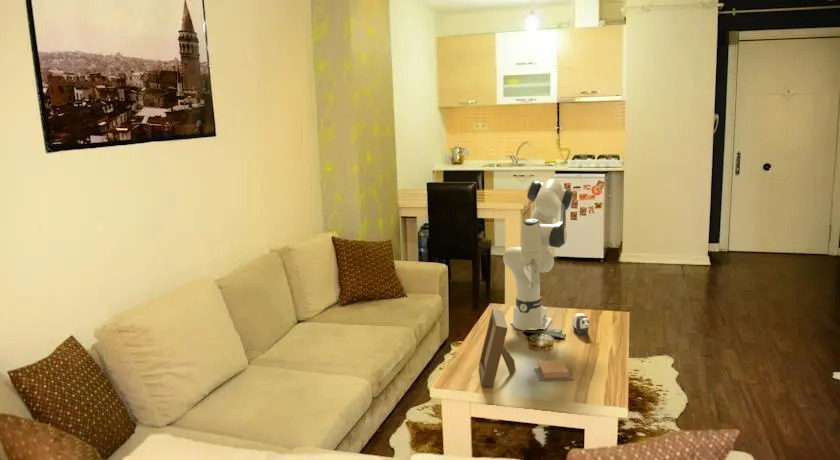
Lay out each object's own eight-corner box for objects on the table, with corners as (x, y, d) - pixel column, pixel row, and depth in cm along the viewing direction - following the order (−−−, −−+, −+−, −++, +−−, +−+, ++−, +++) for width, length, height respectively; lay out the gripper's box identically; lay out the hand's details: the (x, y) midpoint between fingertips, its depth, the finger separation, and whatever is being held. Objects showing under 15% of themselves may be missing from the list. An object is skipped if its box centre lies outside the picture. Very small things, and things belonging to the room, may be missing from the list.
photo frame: (481, 387, 268) (481, 325, 263) (478, 366, 289) (478, 308, 284) (520, 387, 267) (520, 325, 262) (514, 366, 288) (514, 308, 284)
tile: (562, 360, 285) (568, 371, 273) (562, 366, 285) (568, 377, 273) (537, 361, 284) (543, 372, 273) (537, 367, 285) (543, 378, 273)
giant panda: (571, 329, 331) (571, 309, 329) (582, 328, 331) (583, 309, 330) (580, 339, 317) (581, 319, 315) (592, 338, 317) (593, 318, 315)
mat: (534, 369, 284) (534, 368, 284) (566, 368, 284) (566, 367, 284) (540, 380, 272) (540, 379, 272) (573, 379, 272) (573, 378, 272)
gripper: (543, 262, 284) (543, 294, 286) (534, 251, 304) (534, 282, 306) (528, 263, 284) (528, 295, 286) (520, 252, 304) (520, 282, 306)
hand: (531, 288), depth 297 cm, fingers closed
